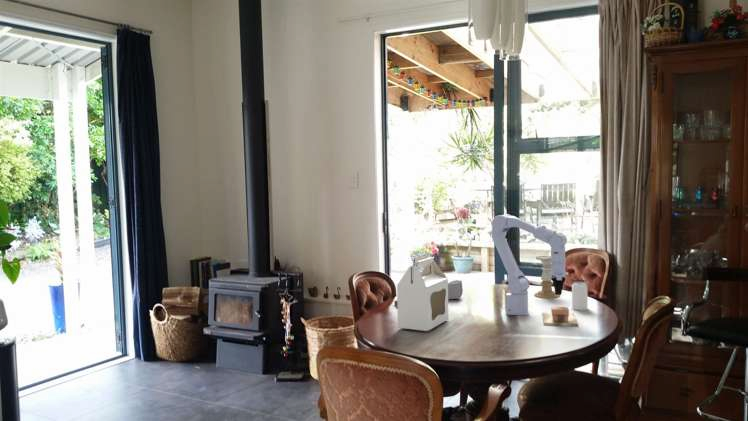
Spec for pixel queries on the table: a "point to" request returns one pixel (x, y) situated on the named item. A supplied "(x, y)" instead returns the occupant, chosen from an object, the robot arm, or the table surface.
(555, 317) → the block
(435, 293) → the gable box
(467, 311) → the table surface
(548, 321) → the rail board
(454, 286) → the decorative stone
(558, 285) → the robot arm
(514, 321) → the table surface
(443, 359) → the table surface
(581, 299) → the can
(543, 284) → the candle holder
